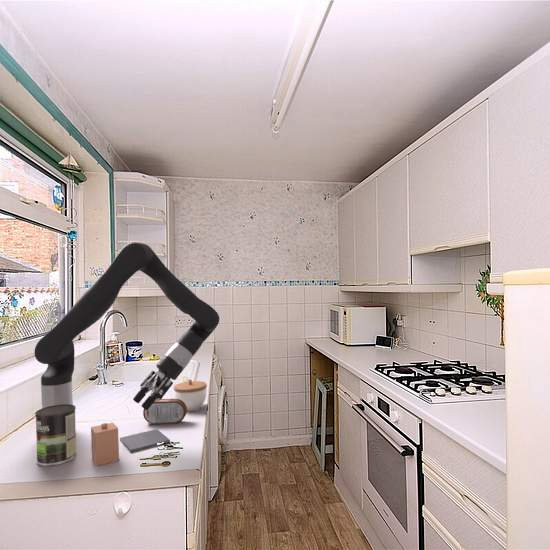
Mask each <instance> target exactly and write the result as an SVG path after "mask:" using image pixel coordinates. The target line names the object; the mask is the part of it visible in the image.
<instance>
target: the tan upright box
mask: <svg viewBox="0 0 550 550" xmlns="http://www.w3.org/2000/svg"><path fill="white" fill-rule="evenodd" d="M90 437H91V441H90V443H91V460H92V461H93V463H94V465H95V466H96V467H98V466H102V465H106V464H110V463H113V462H117V461H120V451H119V450H120V449H119V447H120V446H119V443H120V442H119V441H120V440H119V427H118V426H117V425H116V424H115V422H109V423H107V422H104V423H101V424H99V425H94V426H91V427H90Z"/></svg>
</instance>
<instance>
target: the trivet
mask: <svg viewBox="0 0 550 550" xmlns="http://www.w3.org/2000/svg"><path fill="white" fill-rule="evenodd" d="M119 441H120V442H121V443H122V445H123V446H124V447H125V448H126V449H127V450H128V452H129V453H130V454H131V453H135V452H139V451H142V450H146V449H150V448H153V447H157V446H156V445H157V443H162V442H170V443H171V439H170V438H169V437H167V436H166V435H165V434H163V432H162V431H160V430H159V429H158V428H155V429H151V430H147V431H143V432H139V433H134V434H131V435H130V434H129V435H127V436H122V437H119Z"/></svg>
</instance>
